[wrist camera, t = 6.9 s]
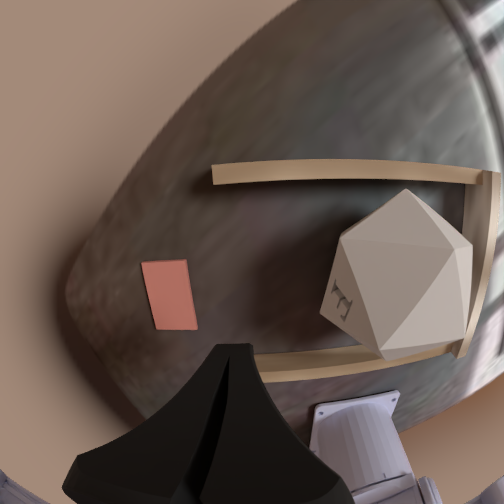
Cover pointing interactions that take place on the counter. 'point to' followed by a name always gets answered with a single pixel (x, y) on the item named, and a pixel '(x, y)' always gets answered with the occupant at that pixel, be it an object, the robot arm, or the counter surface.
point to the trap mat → (170, 294)
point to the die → (401, 280)
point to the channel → (476, 181)
